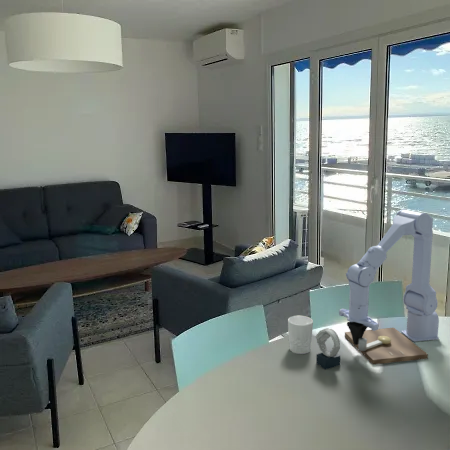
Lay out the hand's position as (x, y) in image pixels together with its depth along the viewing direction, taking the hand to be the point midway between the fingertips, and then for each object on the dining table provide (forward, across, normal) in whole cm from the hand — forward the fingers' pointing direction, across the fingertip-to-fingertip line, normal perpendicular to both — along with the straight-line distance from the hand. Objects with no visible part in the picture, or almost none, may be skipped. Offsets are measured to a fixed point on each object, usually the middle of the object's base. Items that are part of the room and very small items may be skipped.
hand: (357, 343), depth 149 cm
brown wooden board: (+3, +2, +10) cm, 11 cm away
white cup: (+3, -11, -14) cm, 18 cm away
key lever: (+1, +2, +5) cm, 6 cm away
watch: (+3, +1, -13) cm, 13 cm away
